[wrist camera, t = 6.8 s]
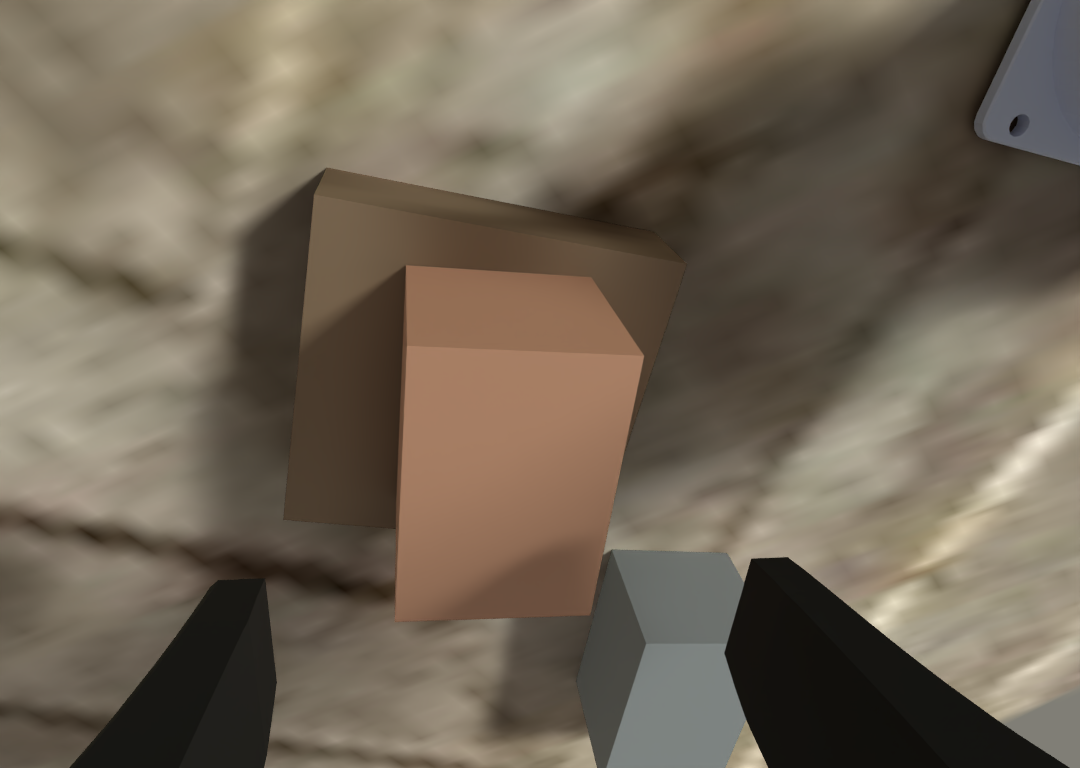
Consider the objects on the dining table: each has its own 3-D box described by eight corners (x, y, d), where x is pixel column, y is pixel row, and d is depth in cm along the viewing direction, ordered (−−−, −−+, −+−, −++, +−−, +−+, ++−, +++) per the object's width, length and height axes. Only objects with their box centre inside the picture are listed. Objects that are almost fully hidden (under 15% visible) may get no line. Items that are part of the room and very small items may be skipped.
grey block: (725, 550, 24) (778, 643, 21) (679, 676, 27) (720, 778, 23) (610, 546, 23) (646, 643, 20) (575, 678, 26) (601, 783, 22)
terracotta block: (591, 277, 16) (644, 355, 12) (554, 499, 19) (589, 615, 15) (406, 265, 15) (406, 345, 12) (396, 499, 18) (395, 621, 14)
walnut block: (648, 226, 19) (687, 264, 16) (572, 479, 22) (594, 544, 20) (328, 163, 17) (314, 194, 14) (299, 452, 20) (283, 519, 18)
